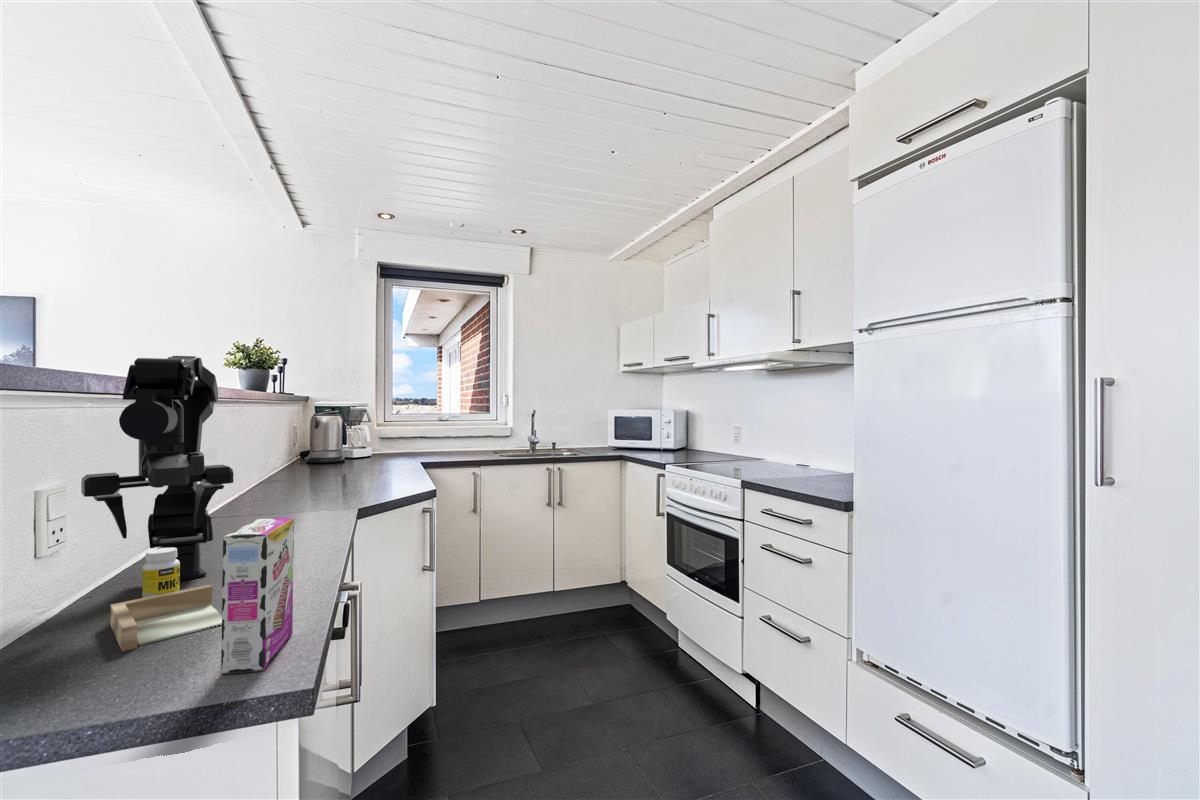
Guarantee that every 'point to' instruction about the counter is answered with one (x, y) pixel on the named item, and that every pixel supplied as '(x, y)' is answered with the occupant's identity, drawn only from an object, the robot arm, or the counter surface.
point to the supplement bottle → (160, 572)
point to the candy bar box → (256, 594)
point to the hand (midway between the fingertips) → (161, 532)
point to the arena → (163, 616)
